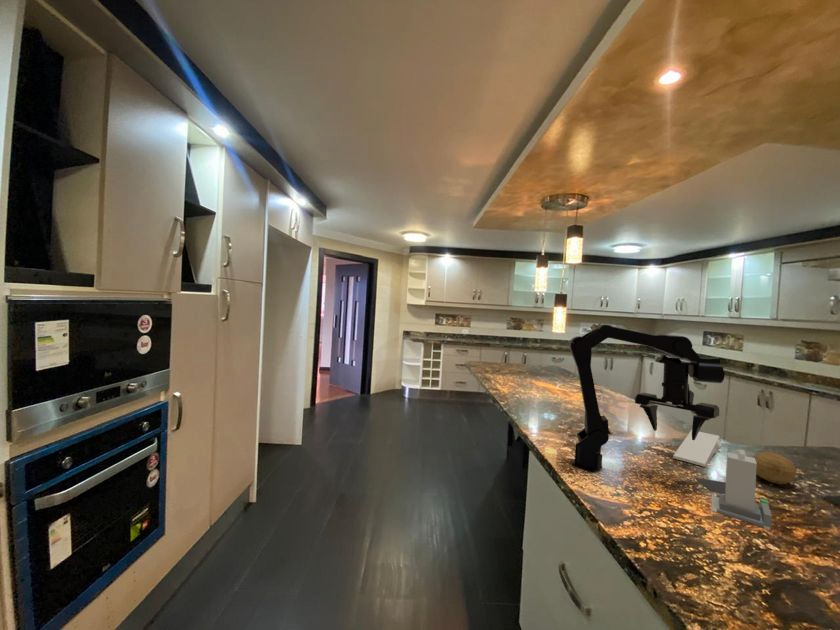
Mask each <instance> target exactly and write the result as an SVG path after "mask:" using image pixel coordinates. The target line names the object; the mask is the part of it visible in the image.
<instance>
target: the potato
mask: <svg viewBox="0 0 840 630" xmlns="http://www.w3.org/2000/svg"><path fill="white" fill-rule="evenodd" d="M752 458H755V460H756V463H757V467H756V476H758V477H760V478H762V479H764V480H765V481H767V482H770V483H773V484H777V485H784V484H789V483H792V482H793V481H794V479H795V477H796V475H797V468H796V466H795V465H794V463H793V462H792V461H790V460H789V459H788V458H786V457H784V456H782V455H780V454H779V453H776V452H771V451H761V452H758V453H757V454H755V455H754V456H753V457H752Z"/></svg>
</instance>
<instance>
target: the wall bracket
mask: <svg viewBox="0 0 840 630" xmlns="http://www.w3.org/2000/svg"><path fill="white" fill-rule="evenodd" d="M720 441H721V440H720V435H717V434H712V433H708V432H703V431H699V432H698V434H697V437H696V439H695V440H692V429H691V430H690V431H689V433H688V434H687V436H686V437H685V439H684V440H683V441H682V442H681V444H680V445H679V447H678V448H677V450H676V451H675V452H674V454H673V457H672V458H673V459H676V460H678V461H679V460H680V461H683V462H687V463H689V464H693V465H697V466H701V467H703V468H705V467H706V466H707V465H708V464H709V463H710V461H711V459H712V457H713V455H714V454H716V452H717V451H718V450H721V449H722V443H721V442H720ZM718 452H719V451H718ZM718 452H717V453H718Z"/></svg>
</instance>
